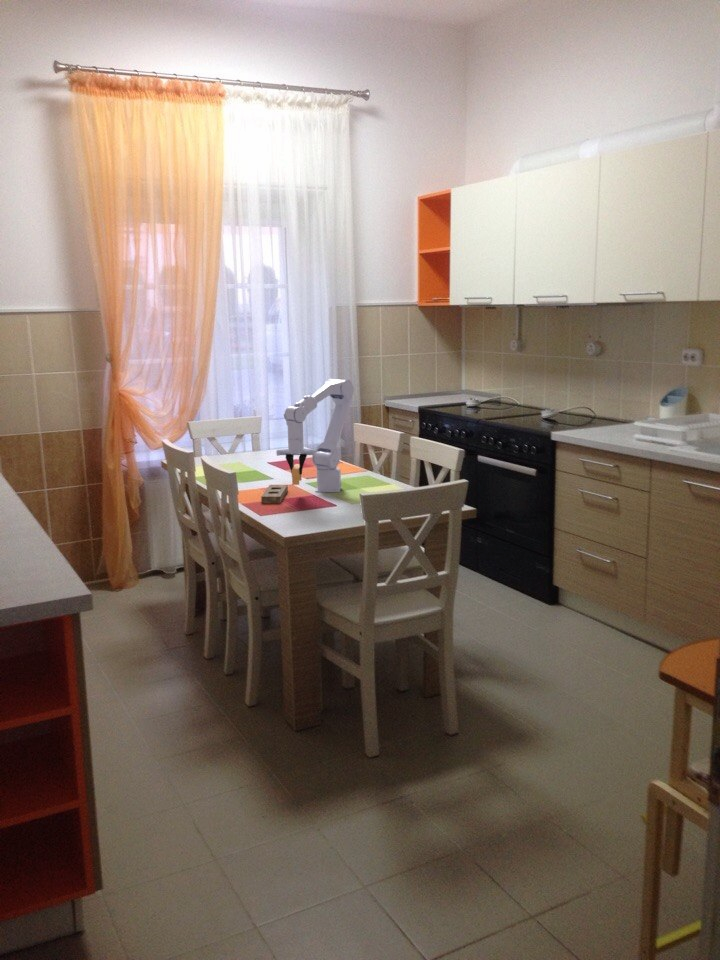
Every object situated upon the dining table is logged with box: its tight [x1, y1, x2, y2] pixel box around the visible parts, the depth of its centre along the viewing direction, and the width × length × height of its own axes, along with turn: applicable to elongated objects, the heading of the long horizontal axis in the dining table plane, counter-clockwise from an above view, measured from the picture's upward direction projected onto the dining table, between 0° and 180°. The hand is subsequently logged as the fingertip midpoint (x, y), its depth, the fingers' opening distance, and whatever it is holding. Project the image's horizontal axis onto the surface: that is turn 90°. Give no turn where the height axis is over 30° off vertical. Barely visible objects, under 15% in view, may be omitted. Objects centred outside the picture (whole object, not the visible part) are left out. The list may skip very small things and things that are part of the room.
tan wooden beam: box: [291, 463, 302, 486], centre depth 312 cm, size 2×10×6 cm, turn 177°
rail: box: [260, 484, 289, 504], centre depth 314 cm, size 7×20×2 cm, turn 177°
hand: (296, 474), depth 312 cm, fingers closed on tan wooden beam, 2 cm apart
